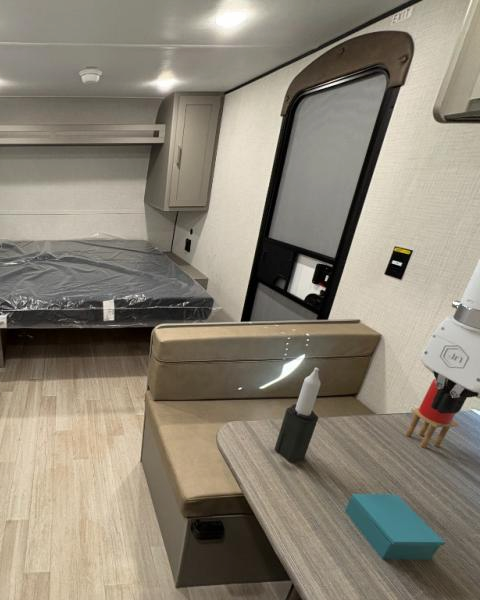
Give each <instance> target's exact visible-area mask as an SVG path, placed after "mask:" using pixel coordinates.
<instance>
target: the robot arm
mask: <svg viewBox="0 0 480 600" xmlns="http://www.w3.org/2000/svg"><path fill="white" fill-rule="evenodd" d="M451 307H452V308H454V309H455V311H454V313H453V315H447V316H446V317H445V318H444V319H443V320H442V321H441V322H440V324H439V325H437V328H435V330H434V331H433V333H432V335H431V336H430V338H429V340H428V341H427V343H426V345H425V346H424V349H423V351H422V353H421V355H420V362H421V363H422V365H424V367H425V368H426V369H427V370H428V371H430V372H431V373H432V374H433V376H434V379H436V380H437V381H436V387H437V388H438V391H437V393H436V395H435V397H434V401H433V403H432V405H431V407H432V408H433V409H436V410H437V411H438V412H439V413H441V414H447V413H456V414H457V413H459V412H460V411H461V409H462V408H463V406H464V404H465V402H466V400H467V398H476V399H479V400H480V258H479V259H478V262H477V264H476V266H475V268H474V270H473V273H472V274H471V277H470V279H469V281H468V284H467V285H466V287H465V290H464V292H463V294H462V295H461V299H460V300H455V301H453V302H452V304H451Z"/></svg>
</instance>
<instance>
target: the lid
mask: <svg viewBox="0 0 480 600" xmlns="http://www.w3.org/2000/svg"><path fill="white" fill-rule="evenodd" d="M351 497H352V498H353V499H354V500H355V501H356V503H357V504H358V505H359V506H360V507H361V508H362V510H363V511H364V512H365V513H366V514H367V515H368V516H369V518H370V519H371V520H372V521H373V522H374V523H375V525H376V526H377V527H378V528H379V529H380V530H381V532H382V533H383V534H384V535H385V536H386V537H387V539H388V540H389V541H390V542H391V543H392V544H393V545H440V546H444V545H445V543H446V541H444V539H443V538H441V537H440V536H439V534H438V533H436V532H435V531H434V530H433V528H432V527H430V526H429V524H427V523H426V522H425V520H423V519H422V518H421V517H420V516H419V515H418V514H417V513H416V512H415V511H414V510H413V509H412V508H411V507H410V506H409V505H408V504H407V503H406V502H405V501H404V500H403V499H402V498H401V497H400V496H399V495H398V494H394V493H393V494H392V493H391V494H390V493H388V494H387V493H385V494H384V493H352V494H351Z"/></svg>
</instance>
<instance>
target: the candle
mask: <svg viewBox="0 0 480 600" xmlns="http://www.w3.org/2000/svg"><path fill="white" fill-rule="evenodd" d="M319 371H320V369H319V368H318V367H314V369H313V371H312V372H311V373H310V375H308V376H306V377H305V378H304V379H303V380H304V381H303V383H302V386H301V389H300V392H299V395H298V399H297V402H296V404H295V403H294V404H292V405H291V406H289V407H287V408H286V410H285V413H284V416H283V419H282V422H281V425H280V430H279V433H278V436H277V439H276V443H275V447H274V451H275V452H276V453H278V454H279V455H280V456H281V457H282V458H284V459H285V460H286V461H287V462H288V463H290V464H293V465H295V464H297V463H299V462H301V461H303V460H305V457H306V454H307V452H308V449H309V446H310V443H311V441H312V437H313V434H314V432H315V429H316V426H317V423H318V420H319V416H318V415H317V414H316V413H315V412H314V410H313V408H314V406H315V402H316V400H317V397H318V393H319V392H320V391H319V390H320V387H321V380H320V378H319Z"/></svg>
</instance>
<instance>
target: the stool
mask: <svg viewBox="0 0 480 600" xmlns="http://www.w3.org/2000/svg"><path fill="white" fill-rule="evenodd" d="M410 412H412V413H413V414H415V415H414V416H413V419H412V421H411V422H410V424H409V426H408V429H407V430H406V433H405V436H406V437H408V438H411V437H412V435H413V434H414V431H415V429H416V427H417V425H418V423H419V422H420V420H421V419H422V420H424V422H423V424H422V426H421V427H420V429H419V431H418V436H421V437H423V439H422V440H421V443H420V445H419V446H420V448H423V449H426V448H427V446H428V444H429V442H430V441H431V439H432V437H433V435H434V433H435V431H436V429H438V428H441V429H440V431H439V433H438V435H437V437H436V438H435V440H434V442H433V446H434V447H436V448H440V446H441V445H442V442H443V441H444V439H445V437H446V436H447V433H448V431H450V428H454V427H459V425H460V423H458V422H457V421H455V420H454V419H452V421H451V423H449V424H443V423H438V422H435V421H432V420H430V419H428V418H426V417H424V416H423V415H422V414H420V412H419V407H417V408H411V410H410Z"/></svg>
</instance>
